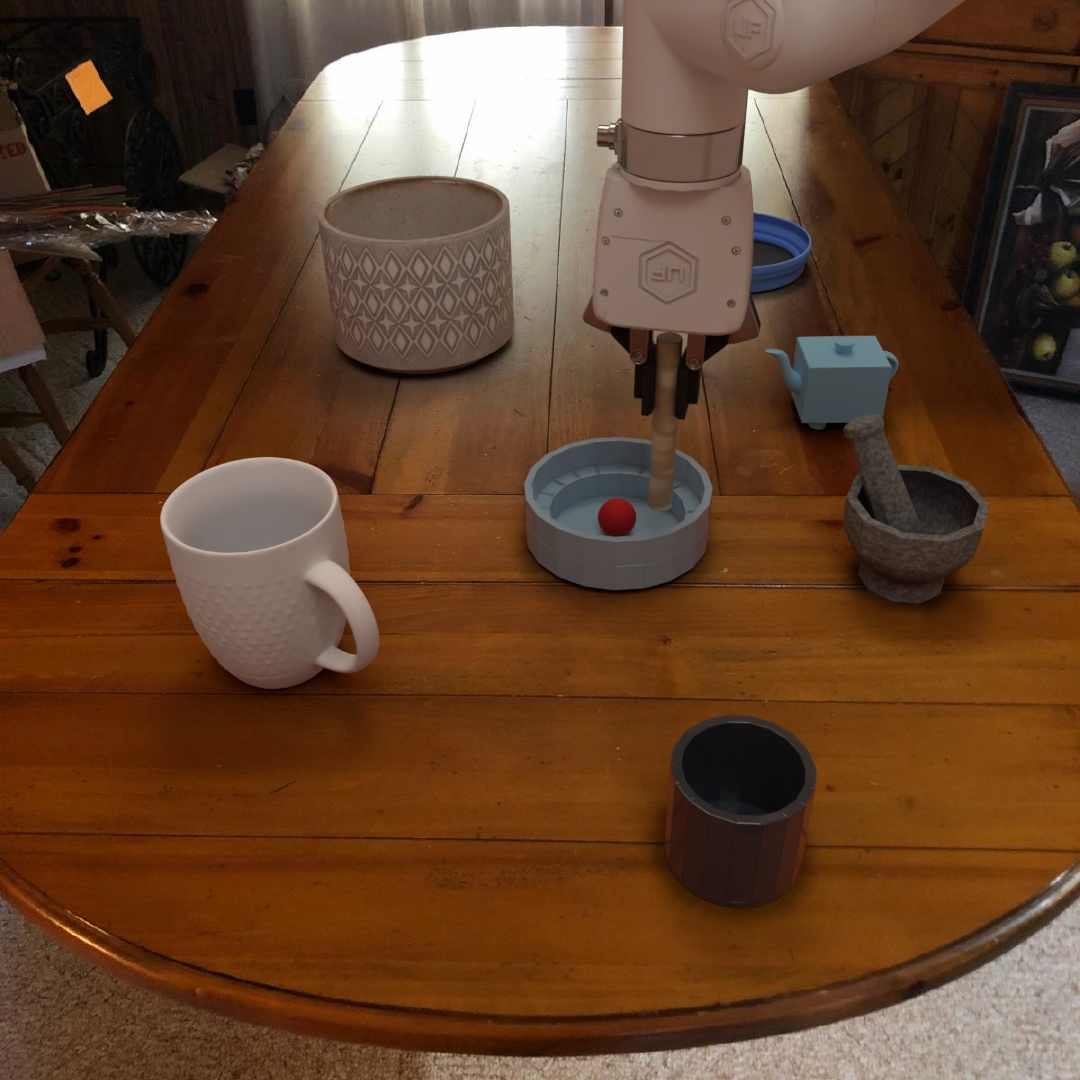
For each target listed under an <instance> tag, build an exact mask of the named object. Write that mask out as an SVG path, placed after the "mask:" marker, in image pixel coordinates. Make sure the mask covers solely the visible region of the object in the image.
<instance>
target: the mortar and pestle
mask: <svg viewBox="0 0 1080 1080" xmlns="http://www.w3.org/2000/svg"><path fill="white" fill-rule="evenodd" d="M885 425H886V424H885V420H884V416H883V417H882V416H880V415H877V414H869V415H863V416H860V417H857V418H855V419H853V420H852V421H850V422H846V425H845V426H844V427H843V433H844V436H845V437H846V438H847V439H848V440H849V441H850V443H851V446H852V450H853V451H852V452H853V454H854V458H855V462H856V465H857V466H856V467H857V470H858V473H859V474H857V475H855V477H854V479H853V481H852V484H851V486H850V488H849V490H848V492H847V494H846V496H845V502H844V508H843V530H844V533H845V535H846V538H847V539H848V542H849V543H850V545H851V547H852V549H853V550H854V552H855V553H856V555H857V556H858V557H859V559H860V560H861V562H860V564H859V567H858V571H857V576H858V577H859V578H860V580H861V582H862V583H863V584H864V586H865V587H866V590H868V591H869V592H871V593H873V594H875V595H877V596H880V597H882V598H884V599H886V600H888V601H890V602H893V603H909V604H922V603H924V602H927V601H929V600H931V599H933V598H936V597H938V596H940V595H941V592H942V589H943V586H944V583H945V579H946V577H947V576H950V575H953V574H955V573H957V572H959V571H961V569H963V568H964V567H965V566H966V565H968V564H969V563H970V562H971V561H972V559H973V558H974V555H975V553H976V552H977V550H978V548H979V546H980V543H981V540H982V537H983V532H984V528H985V525H986V521H987V517H988V513H989V509H990V506H991V505H990V503H989V502H988V501H987V500H986V499H985V498H984V496H982V495H981V493H980V492H979V491H978V490H977V489H976V488H975V487H974V486H973V484H971V482H970V481H968V480H966V479H963V478H962V477H961V478H960V477H958V476H956V475H953V474H950V473H948V472H945V471H943V470H940V469H937V468H935V467H932V466H929V465H928V466H926V465H905V464H897V462H896V459H895V457H894V454H893V452H892V450H891V447H890V445H889V442H888V440H887V436H886V435H885V432H884V429H885V428H884V427H885Z"/></svg>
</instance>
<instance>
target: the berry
mask: <svg viewBox="0 0 1080 1080" xmlns="http://www.w3.org/2000/svg"><path fill="white" fill-rule="evenodd" d="M598 523H599V525H600V527H601V529H602V530H603V531H604V532H605V533H606V534H608V535H610V536H614V537H620V536H624V535H626V534H628V533H629V532H630V531H631V530H632V529H633V527H634V526H635V523H636V512H635V509H634V507H633V506H632V505H631V504H630V503H629V502H628V501H626V500H624V499H620V498H614V499H610V500H608V501H606V502H605V503H604V504H603V505H602V506H601V508H600V510H599V512H598Z"/></svg>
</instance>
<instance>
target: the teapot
mask: <svg viewBox="0 0 1080 1080" xmlns="http://www.w3.org/2000/svg"><path fill="white" fill-rule="evenodd" d="M795 342H796V343H795V349H794V358H793V364H791V362H790V358H789V355H788V354H787V353H786V352H785V351H784V350H782V349H778V348H768V349H765V350H764V352H766V353H767V354H769V355H771V356H773V357H774V358H775V359H776V360H777V362H778V364H779V366H780V371H781V376H782V380H783V382H784V384H785V386H786V387H787V388H788V390H790V394H791V397H792V399H793V402H794V405H795V408H796V411H797V414H798V417H799V420H800V422H801V424H808V427H810V428H811V429H815V430H823V429H825V428H826V426H827V424H829V423H832V424H833V423H834V424H835V423H837V424H838V423H848V422H850V421H852V420H853V419H855V418H857V417H860V416H863V415H869V414H877V415H880V416H882V417H883V418H884V412H885V406H886V402H887V397H888V392H889V385H890V380H892V378H894V376H895V375H896V374H897V371H898V369H899V361H898V358H897V357H896V355H894V354H893V353H892V352H890V351H887V350H883V347H882V346H881V344H880V342H879V340H878V338H877V336H876V335H831V336H829V335H827V336H826V335H825V336H822V335H821V336H798V337H796V341H795ZM889 361H891V363H890V362H889ZM791 365H793V366H791Z"/></svg>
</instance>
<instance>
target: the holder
mask: <svg viewBox="0 0 1080 1080" xmlns="http://www.w3.org/2000/svg"><path fill="white" fill-rule="evenodd" d="M817 774H818V771H817V767H816V765H815V762H814V760H813V757H812V755H811V752H810V751H809V749H808V748H807V747H806V746H805V745H804V743H803V742H801V741H800V739H799V738H797V736H796V734H795V735H794V734H793V733H792V732H791V731H788V730H787V729H785V728H784V727H782V726H780V725H778V724H777V723H775V722H772V721H769V720H767V719H762V718H759V717H755V716H753V715H742V714H741V715H737V714H725V715H724V714H723V715H719V716H715V717H711V718H706V719H703V720H701V721H700V722H698V723H696V724H695V725H693V726H691V727H689V728H688V729H686V730H685V731H684V732H683V733H682V734H681V736H680V737H679V738H678V740H677V741H676V743H675V744H674V745H673V746H672V752H671V757H670V762H669V773H668V786H667V787H668V788H667V803H666V815H665V816H666V817H665V818H666V819H665V829H664V830H665V831H664V848H665V850H664V851H665V857H666V860H667V863H668V866H669V868H670V869H671V871H672V873H673V874H674V876H675V877H676V879H677V880H678V881H679V882H680V883H681V884H682V885H683V886H684V887H685V888H686V889H687V890H688V891H689V892H691V893H692V894H694V895H696V896H697V897H699V898H700V899H703V900H705V901H707V902H709V903H712V904H715V905H719V906H723V907H728V908H734V909H735V908H737V909H746V908H754V907H758V906H759V907H760V906H763V905H766V904H769V903H771V902H773V901H775V900H777V899H778V898H781V896H783V895H784V894H785V893H787V891H789V889H790V888H791V887H792V886H793V885H794V883H795V881H796V880H797V878H798V875H799V872H800V869H801V867H802V863H803V857H804V853H805V852H804V851H805V847H806V843H807V836H808V831H809V826H810V820H811V816H812V809H813V804H814V799H815V793H816V789H817Z"/></svg>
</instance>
